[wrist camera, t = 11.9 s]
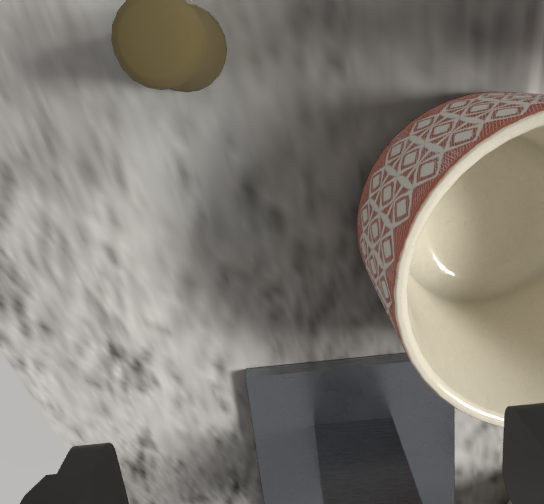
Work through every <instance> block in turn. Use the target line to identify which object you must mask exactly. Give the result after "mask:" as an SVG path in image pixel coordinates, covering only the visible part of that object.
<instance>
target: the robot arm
mask: <svg viewBox="0 0 544 504" xmlns="http://www.w3.org/2000/svg"><path fill="white" fill-rule="evenodd" d="M503 478H504V483H505V487H506V490H507V493H508V496H509V498H510V501H511V503H512V504H544V403H536V404H526V405H515V406H508V407H507V408H506V410H505V414H504V438H503ZM20 504H129V503H128V498H127V494H126V490H125V486H124V482H123V478H122V474H121V470H120V467H119V463H118V459H117V455H116V451H115V448H114V446H113V445H112V444H111V443H103V444H92V445H82V446H74V447H72V448H71V449H70V451H69V452H68V454H67V456H66V458H65V460H64V462H63V464H62V465H61V467H60V469H59V471H58V473H57V474H53V475H46V476H45V477H44V478H43V479H42V480H41V481H40V482H39V483H38V484H37V485H35V486H34V487H33V488H32V489H31V490H30V491H29V492H28V493H27V494H26V495H25V496H24V498H23V499H22V501H21V503H20Z"/></svg>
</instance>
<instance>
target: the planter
mask: <svg viewBox="0 0 544 504" xmlns="http://www.w3.org/2000/svg"><path fill="white" fill-rule="evenodd" d="M357 232H358V244H359V249H360V252H361V256H362V260H363V263H364V266H365V268H366V270H367V272H368V274H369V277H370V279H371V281H372V283H373V285H374V287H375V289H376V291H377V293H378V296H379V298H380V300H381V302H382V304H383V306H384V308H385V310H386V312H387V314H388V316H389V318H390V320H391V323H392V325H393V327H394V329H395V331H396V333H397V335H398V337H399V339H400V341H401V343H402V345H403V348H404V350H405V352H406V354H407V356H408V358H409V360H410V362H411V363H412V364H413V366H414V367H415V369H416V370H417V372H418V373H419V375H420V376H421V378H422V379H423V380H424V381H425V382H426V383H427V384H428V385H429V386H430V387H431V388H432V389H433V390H434V391H435V392H436V393H437V394H438V395H439V396H440V397H441V398H443V399H444V400H445V401H447V402H448V403H450V404H451V405H452V406H454V407H455V408H456V409H458V410H460V411H462V412H464V413H466V414H468V415H470V416H472V417H474V418H476V419H478V420H481V421H484V422H487V423H490V424H493V425H497V426H500V427H504V414H505V410H506V408H507V407H508V406H515V405H526V404H536V403H544V95H542V94H529V93H515V92H485V93H477V94H470V95H466V96H463V97H460V98H456V99H453V100H450V101H447V102H445V103H443V104H441V105H439V106H437V107H434V108H432V109H430V110H428V111H427V112H425V113H424V114H422V115H421V116H419V117H418V118H416V119H415V120H413V121H412V122H410V123H409V124H408V125H407V126H406V127H405V128H404V129H403V130H402V131H400V132H399V133H398V134H397V135H396V136H395V137H394V138H393V139H392V141H391V142H390V143H389V144H388V146H387V147H386V148H385V149H384V150H383V152H382V153H381V154H380V156H379V158H378V159H377V161H376V163H375V164H374V166H373V168H372V169H371V171H370V174H369V176H368V178H367V181H366V183H365V186H364V188H363V192H362V196H361V200H360V204H359V209H358V221H357Z"/></svg>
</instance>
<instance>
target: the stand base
mask: <svg viewBox="0 0 544 504" xmlns="http://www.w3.org/2000/svg"><path fill="white" fill-rule="evenodd" d="M246 384H247V391H248V397H249V404H250V411H251V417H252V424H253V431H254V437H255V444H256V451H257V457H258V464H259V471H260V478H261V484H262V491H263V498H264V504H455V465H454V406H452V405H451V404H450V403H448V402H447V401H445V400H444V399H443V398H441V397H440V396H439V395H438V394H437V393H436V392H435V391H434V390H433V389H432V388H431V387H430V386H429V385H428V384H427V383H426V382H425V381H424V380H423V379H422V378H421V376H420V375H419V373H418V372H417V370H416V369H415V367H414V366H413V364H412V363H411V362H410V360H409V358H408V356H407V354H406V353H400V354H390V355H380V356H370V357H360V358H350V359H339V360H329V361H319V362H309V363H299V364H289V365H279V366H269V367H259V368H249V369H246Z"/></svg>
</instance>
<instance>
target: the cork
mask: <svg viewBox="0 0 544 504" xmlns="http://www.w3.org/2000/svg"><path fill="white" fill-rule="evenodd" d="M111 40H112V44H113V48H114V53H115V56H116V57H117V59H118V61H119V63H120V65H121V66H122V68H123V70H124V71H125V72H126V73H127V74H128V75H129V76H130V77H131V78H132V79H133V80H135V81H137V82H138V83H140V84H142V85H144V86H146V87H150V88H155V89H161V90H162V89H168V88H172V89H174V90H179V91H184V92H190V91H197V90H201V89H203V88H204V87H206V86H208V85H210V84H211V83H212V82H213V81H214V80H215V79H216V78H217V77H218V76H219V75H220V72H221V70H222V68H223V66H224V64H225V59H226V51H227V48H226V42H225V35H224V33H223V31H222V29H221V27H220V25H219V23H218V22H217V21H216V20H215V19H214V18H213V16H212V15H211V14H210V13H209V12H207V11H205V10H204V9H202V8H200V7H198V6H196V5H190V4H188V3H187V2H186V1H185V0H126V2H125V3H124V4H123V5H122V6H121V8H120V9H119V10H118V12H117V14H116V17H115V19H114V22H113V24H112V39H111Z"/></svg>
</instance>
